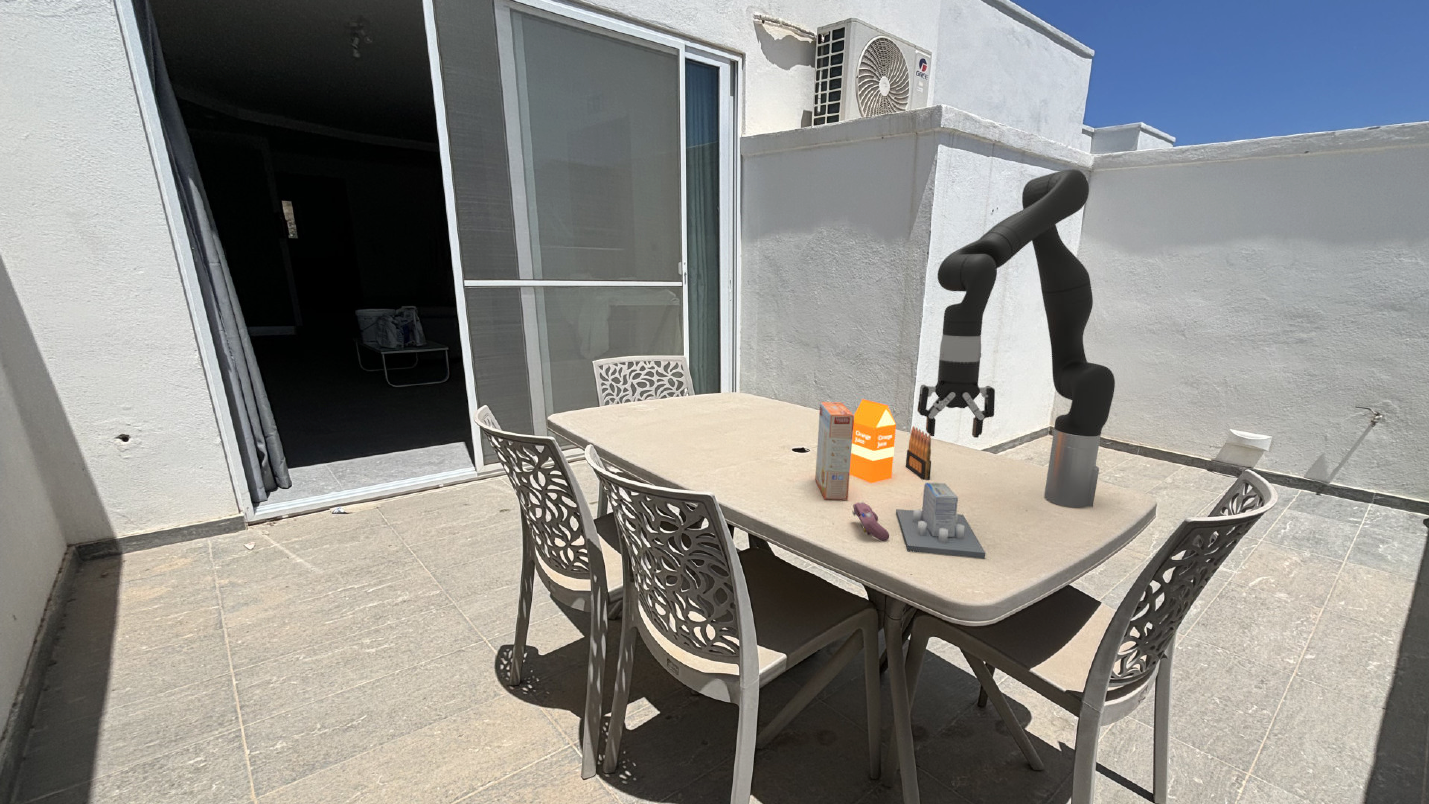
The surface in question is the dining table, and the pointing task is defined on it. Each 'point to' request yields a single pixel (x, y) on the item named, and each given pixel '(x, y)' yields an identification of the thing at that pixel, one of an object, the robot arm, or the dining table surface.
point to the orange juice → (872, 442)
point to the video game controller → (870, 521)
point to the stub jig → (924, 542)
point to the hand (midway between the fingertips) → (953, 436)
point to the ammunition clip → (919, 454)
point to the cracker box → (834, 450)
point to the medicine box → (939, 508)
